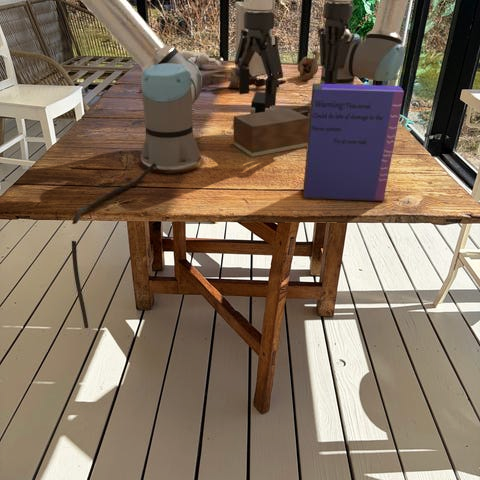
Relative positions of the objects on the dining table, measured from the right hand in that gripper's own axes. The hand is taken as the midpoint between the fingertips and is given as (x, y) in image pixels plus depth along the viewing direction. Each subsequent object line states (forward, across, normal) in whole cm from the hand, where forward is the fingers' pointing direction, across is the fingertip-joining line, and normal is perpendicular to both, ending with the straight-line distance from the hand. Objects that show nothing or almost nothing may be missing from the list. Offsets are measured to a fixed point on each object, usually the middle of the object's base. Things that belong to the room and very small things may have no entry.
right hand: (328, 93), depth 137 cm
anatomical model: (+13, +65, -40) cm, 78 cm away
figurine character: (+13, +22, +9) cm, 27 cm away
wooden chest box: (+13, 0, +19) cm, 23 cm away
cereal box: (+13, -35, +22) cm, 43 cm away
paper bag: (+13, +85, -25) cm, 90 cm away
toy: (+13, +108, -3) cm, 109 cm away
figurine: (+13, +61, -8) cm, 62 cm away
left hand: (-1, 0, +24) cm, 24 cm away
